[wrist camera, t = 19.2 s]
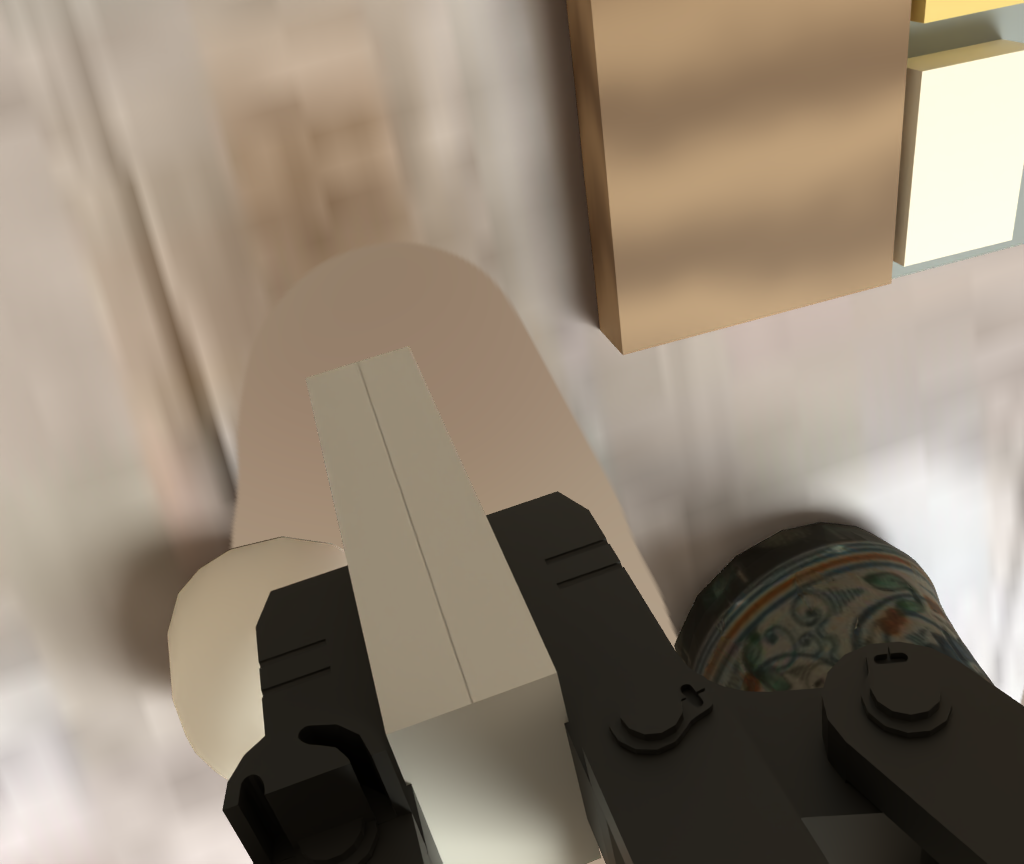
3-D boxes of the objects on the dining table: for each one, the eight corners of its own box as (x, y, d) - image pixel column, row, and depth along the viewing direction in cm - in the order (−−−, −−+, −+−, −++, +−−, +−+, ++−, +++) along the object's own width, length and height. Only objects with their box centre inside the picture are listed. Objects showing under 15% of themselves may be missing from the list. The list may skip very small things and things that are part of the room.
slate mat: (890, -293, 37) (903, -296, 37) (1150, -333, 39) (1167, -337, 39) (859, 279, 50) (868, 285, 49) (1058, 227, 52) (1069, 231, 51)
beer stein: (679, 542, 55) (976, 942, 34) (967, 486, 60) (1384, 810, 39) (661, 745, 63) (891, 1168, 42) (915, 683, 68) (1236, 1037, 47)
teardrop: (170, 714, 51) (165, 917, 41) (163, 542, 46) (155, 725, 36) (378, 693, 54) (419, 876, 44) (392, 530, 49) (443, 695, 39)
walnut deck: (544, -206, 35) (571, -213, 33) (882, -260, 38) (931, -270, 35) (600, 330, 47) (623, 354, 44) (855, 263, 49) (891, 283, 47)
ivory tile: (887, 62, 43) (922, 71, 41) (1001, 39, 45) (1041, 46, 42) (873, 250, 48) (904, 266, 46) (977, 225, 49) (1012, 239, 47)
